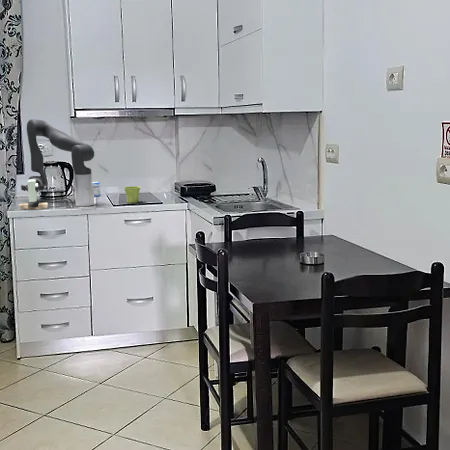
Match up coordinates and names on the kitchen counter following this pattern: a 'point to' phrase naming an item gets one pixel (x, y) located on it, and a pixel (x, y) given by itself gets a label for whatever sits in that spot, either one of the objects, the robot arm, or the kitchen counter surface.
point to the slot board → (26, 206)
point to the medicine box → (96, 188)
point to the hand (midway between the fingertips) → (31, 189)
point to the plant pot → (132, 194)
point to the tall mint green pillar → (32, 191)
